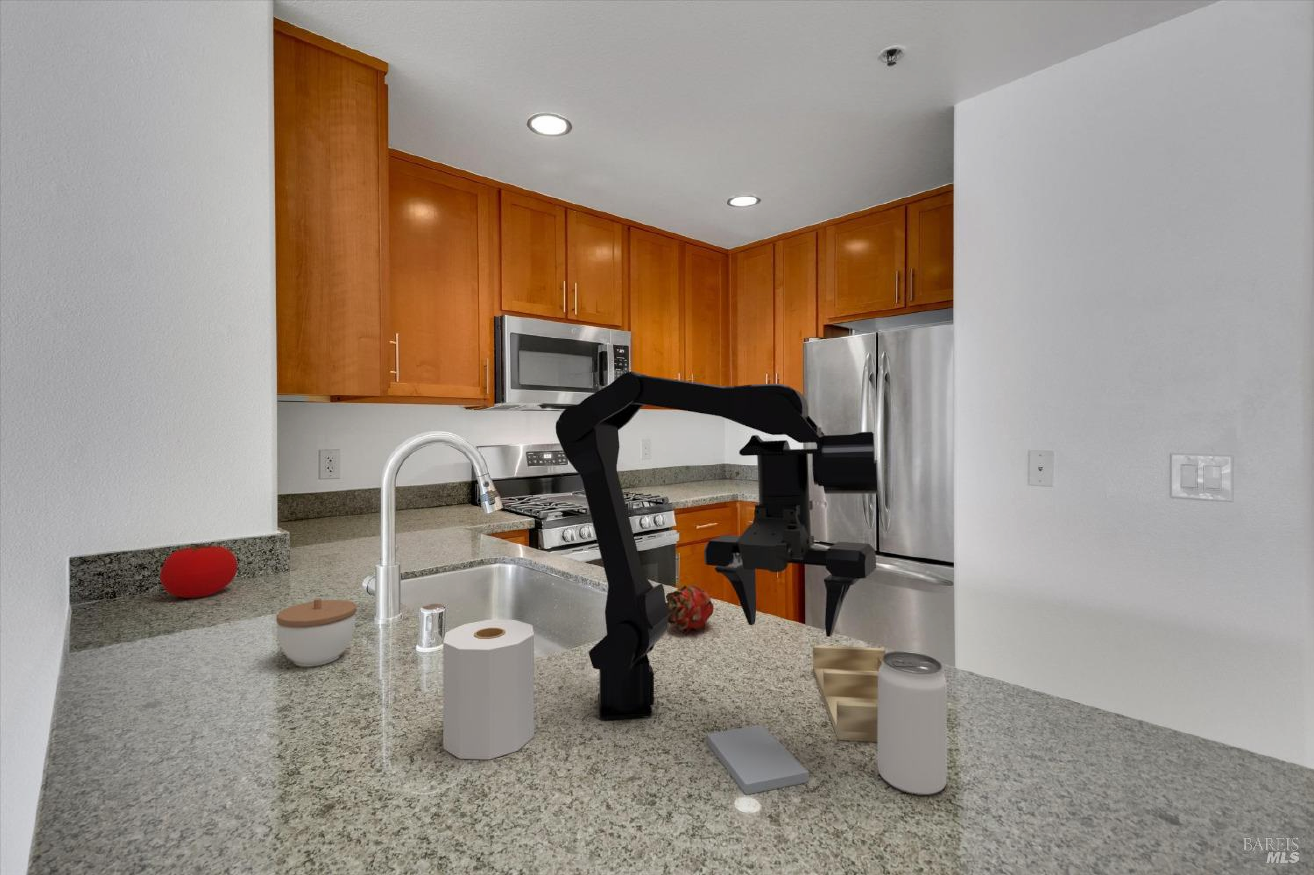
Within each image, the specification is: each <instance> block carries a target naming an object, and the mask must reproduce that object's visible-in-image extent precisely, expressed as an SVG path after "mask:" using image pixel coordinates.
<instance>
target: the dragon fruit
mask: <svg viewBox="0 0 1314 875" xmlns="http://www.w3.org/2000/svg"><path fill="white" fill-rule="evenodd" d="M665 600H666V603H667V606H668V608H669V609H670V611H671V614H670V615H669V616H668V624H671V625H676V627H677V629H678V631H681V632H682V633H685V634H686V633H688V632H690V631H691V629H695V630H696V631H701V630H702V631H704V630H705V629H706V627H707V626H706V625H707V624H706V623H707V621H708V620H709V618H711V616H712V615H713V613H714V607H715V606H714V604H713V602H712V600H711V597H710V595H709V593H708V592H707V591H706V590H705V589H701V586H699V585H698V584H691V585H690V586H689V585H688V586H687V585H684V586H680V587H679V588H677V589H676V590H674V591H673V592H672V591H671V592H668V593H667V594H665Z"/></svg>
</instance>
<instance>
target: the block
mask: <svg viewBox="0 0 1314 875" xmlns="http://www.w3.org/2000/svg"><path fill="white" fill-rule="evenodd" d="M706 744H707V745H708V746H709V748H710V750H712V752H713V753H714V754H715V756H716V757H717V759H719V761H720V762H721V764H722V765H723V767H725V769H726V770H727V771H728V773H729V775H731V777H732V778H733V780H734V782H736V783H737V785H738V787H739V788H740V789H741V791H742V792H743V793H744V794H745V795H746V796H747V795H751V794H756V793H761V792H766V791H770V790H775V789H776V790H777V789H781V788H786V787H791V786H796V785H800V784H806V783H809V782H810V777H809V775H810V774H809V771H808V769H806V768H805V767H804V766H803V765H802V764H801V762H799V761H798V759H797V758H795V757H794V755H793V754H792V753H791V752H789V750H787V749H786V747H785V746H784V745H782V743H781V742H780V741H778V739H777V738H776V737H775V736H773V734H772V733H771V732H770V731H769V730H767V728H766V727H765V726H764V725H763V724H758V725H753V726H745V727H739V728H734V729H729V730H722V731H715V732H711V733H706Z"/></svg>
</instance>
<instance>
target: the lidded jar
mask: <svg viewBox="0 0 1314 875" xmlns="http://www.w3.org/2000/svg"><path fill="white" fill-rule="evenodd" d="M356 613H357V604H356V603H355V602H354V601H350V600H345V599H344V600H343V599H327V600H326V599H325V600H324V599H322V598H321V597H318V598H313V601H310V602H305V603H300V604H296V605H293V606H289V607H287V608H285V609H282V610H280V611H279V612H278V613H277V614H276V623H277V638H278V642H279V646H280V649H281V651H282V653H283V654H284V656H286V658H288V659H289V660H291V661H292V662H294V664H295V665H296V666H298V667H303V668H304V667H305V668H311V667H312V668H313V667H319V666H322V665H323V666H324V665H327V664H330V663H333V662H335V661H337V660H338V659H339V658H340V657H341V654H342V653H343V652H345V650H346V649H347V648H348V646H349V645H350V643H351V641H352V639H353V637H354V633H355V630H356V629H355V628H356V616H357V615H356Z"/></svg>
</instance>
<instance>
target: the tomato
mask: <svg viewBox="0 0 1314 875" xmlns="http://www.w3.org/2000/svg"><path fill="white" fill-rule="evenodd" d="M238 564H239V563H238V560H237V557H236V556H235V554H234V553H233V552H232V551H231V550H230V549H228V548H227V547H224V546H219V545H218V546H217V545H210V544H209V545H208V544H205V545H200V543H198V544H197V543H196V544H195V545H191V546H190V547H184V548H181V549H178V550H177V549H176V550H175V551H173V552H172V553H171V554H170V555H168V557H167V558H166V559H165V560H164V563H163V565H162V567H161V570H160V572H159V581H160V583H161V585H162V587H163V588H164V590H165V591H166V592H167V593H168V594H170V595H172V596H174V597H177V598H183V599H184V598H185V599H195V598H196V599H198V598H204V597H207V596H211V595H214V594H215V593H218V592H220V591H222V590H223V589H225V588H226V587H227V586H228V585H229V584H230V583H231V582H233V580H234V579H235V576H236V575H237V571H238Z"/></svg>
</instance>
